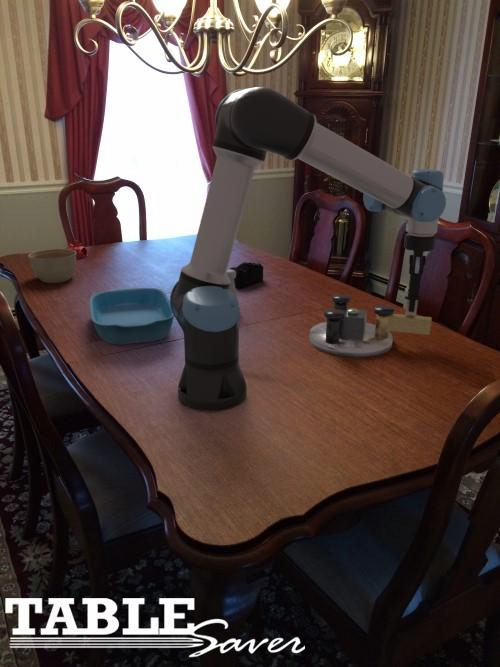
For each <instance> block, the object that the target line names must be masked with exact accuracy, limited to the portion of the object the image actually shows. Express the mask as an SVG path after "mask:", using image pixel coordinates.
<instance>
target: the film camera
mask: <svg viewBox="0 0 500 667" xmlns="http://www.w3.org/2000/svg"><path fill="white" fill-rule="evenodd" d="M229 269H230V270H234V271H235V272H236V278H234V283H235V288H236V290H243V289H247V288H248V287H252V286H254V285H257V284H260V283H262V282H263V281H264V266H263V265H262V264H261V262H259V263H258V262H246V261H245V262H242V263H240V264H239V265H237V266H233V267H230V268H229Z"/></svg>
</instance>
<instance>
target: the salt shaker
mask: <svg viewBox="0 0 500 667" xmlns="http://www.w3.org/2000/svg"><path fill="white" fill-rule="evenodd" d="M226 273H227V276H228V278H229V279H230V286H229V289H228V290H230V291H231V292H233V293H234V294H235V295H236V297H237V298H238V294H237V289H236V288H235V283H234V278H236V272H235V271H234V270H230V268H229V269H228V268H227V272H226Z"/></svg>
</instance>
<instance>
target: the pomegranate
mask: <svg viewBox="0 0 500 667" xmlns="http://www.w3.org/2000/svg"><path fill="white" fill-rule="evenodd" d="M73 241H74V245H73V244H72V243H70V242H68V243H67V244H66V247H65V248H64V249H70V250H74V251H76V253H77V255H76V260H83V259H86V258H88V257H89V253H88V252H89V251H88V249H87V248H86V247H85V246H82V243H78V244H77V242H78V240H77V239H75V240H73Z"/></svg>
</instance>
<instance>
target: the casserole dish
mask: <svg viewBox="0 0 500 667" xmlns="http://www.w3.org/2000/svg"><path fill="white" fill-rule="evenodd" d="M89 311H90V318H91V321H92V323H93V326H94V327H95V331H96V332H97V334H98V336H99V337H100V339H102V340H103V341H104V342H106V343H107V344H110V345H128V344H130V345H131V344H136V343H138V344H139V343H147V342H148V343H149V342H155V341H159V340H163V339H164V337H166V336H167V335H168V334H169V332H170V330H171V329H172V325H173V323H174V322H173V321H174V318H175V317H174V315H173V313H172V310H171V306H170V298H169V296H168V295H167V294H166V292H165V291H164V290H162V289H161V288H156V287H135V286H134V287H122V288H114V289H110V290H105V291H99V292H97V293H94V294H92V296H91V297H90V299H89Z"/></svg>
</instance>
